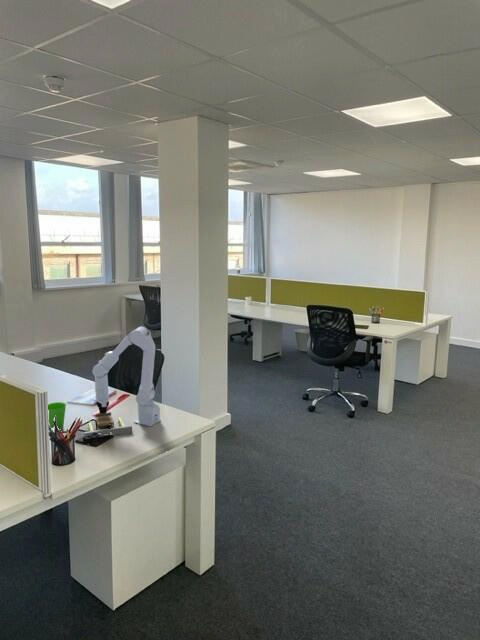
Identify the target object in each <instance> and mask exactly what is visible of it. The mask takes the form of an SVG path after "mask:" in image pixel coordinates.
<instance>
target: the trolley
mask: <svg viewBox="0 0 480 640" xmlns="http://www.w3.org/2000/svg"><path fill="white" fill-rule="evenodd" d="M94 415H95V416H94V417H95V422H96V421H97V422H96V425H98V426H97V428H98V430H101V428H102V427H103V426H105V427H106V426H109V425H108V424H109V423H112V424H113V427H114V425H115V422H114V418H113V416H112V412H111V411H110V412H109V411H108V412H106V413H101V414H100V413H95V414H94Z"/></svg>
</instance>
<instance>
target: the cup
mask: <svg viewBox="0 0 480 640" xmlns="http://www.w3.org/2000/svg"><path fill="white" fill-rule="evenodd" d="M47 404H48V410H49V420H48V424H49V428H50V429H51V428H53V427H54V424H53V419H54V417H55V415H56V416H57V426H58V428H59V429H62V430H63V429H64V424H65V418H66V417H65V416H66V414H65V413H66V407H67V403H66V402H63V401H55V402H50V403H47Z"/></svg>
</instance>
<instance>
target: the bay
mask: <svg viewBox="0 0 480 640" xmlns="http://www.w3.org/2000/svg"><path fill="white" fill-rule="evenodd" d="M117 420H118V425H119V426H117V427H110V428H111V429H108V428H102V429H101V428H100V429H95V430H94V426H93V425H92V421H89V422H90V423H88V422H87V423H88V426H89V427H88V430H90V431H83V438H84V437H85V436H88V435H91V434H93V433H101V434H108V433H109V432H112V434H113V435H114V436H120V435H127V434H128V435H129V434H132V433H133V425H132V424H129V425H125V422H124V421H123V419H122V417H118V419H117Z"/></svg>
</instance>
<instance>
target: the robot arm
mask: <svg viewBox="0 0 480 640" xmlns="http://www.w3.org/2000/svg"><path fill="white" fill-rule="evenodd" d="M132 345H135V346H137V347H139V348H140V349H141V350H142V351H143V352H142V355H143V356H142V365H141V377H140V385H139V388H138V393H137V394H136V396H135V400H136V404H137V416H138V419H136V420H135V421H134V423H135V424H139V425H143V426H148V427H153V426H154V425H156V424H157V423H159V422H161V421H162V419H161V415H160V414H161V413H160V411H161V410H160V407H159V405H157V404H156V403H155V401H154V397H155V395H156V391H155V385H154V383H153V379H154V369H155V356H156V344H155V342H154V339H153V337H152V332H151V331H150V330H149V329H148V328H146V327H145V326H138V327H137V328H136V329H134V330H132V331H130V333H129V334H127V335H126V336H125V337H124V338H123V339H122V340H121V341H120V343H118V345H117V346H116V347H115V348H114V349H113V350H112V351H108V352H107V351H106V352H105V353H104V356H103V357H102V359H100V360H98V362H97V364H95V365H94V366H93V368H92V371H91V372H92V375H93V376H94V385H95V386H94V387H95V390H94V391H95V397H94V398H93V399H92V400H93V402H95V404H96V406H97V408H98V411H99V414H101V413H108V412H107V411H108V407H109V405H110V396H109V395H110V394H109V379H108V378H109V377H108V373H109V372H110V370H111V369H112V367H114V365H115V364H116V363H117V362H118V361H119V356H120V355H121V354H122V353H123V352H124V351H125V350H126V349H127V348H128V347H129V346H132Z"/></svg>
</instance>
